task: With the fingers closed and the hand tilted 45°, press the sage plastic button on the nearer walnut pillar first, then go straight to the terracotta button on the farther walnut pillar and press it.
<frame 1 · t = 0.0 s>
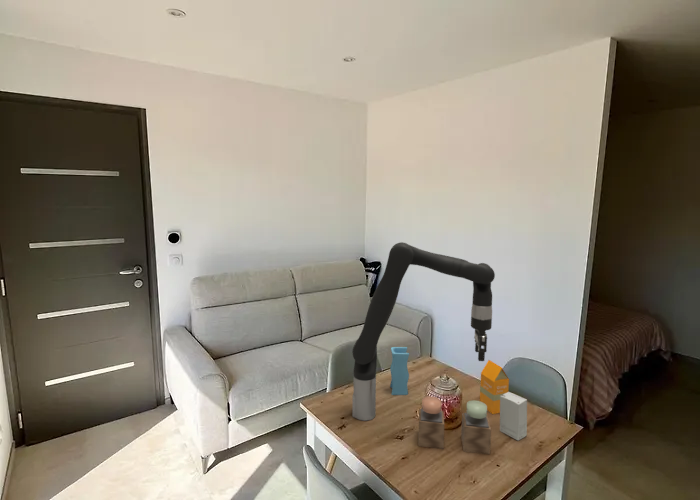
hand: (479, 356, 148), 29 cm above the table, tool pointing down, fingers open, 8 cm apart
sage button: (476, 409, 139), point 14 cm above the table, slide at 0.0 cm
orange juice: (493, 407, 166), on the table
pillar 1: (430, 439, 144), on the table
vase: (399, 391, 180), on the table
skincare box: (512, 433, 148), on the table
pillar 2: (475, 444, 141), on the table
terracotta button: (431, 404, 142), point 14 cm above the table, slide at 0.0 cm
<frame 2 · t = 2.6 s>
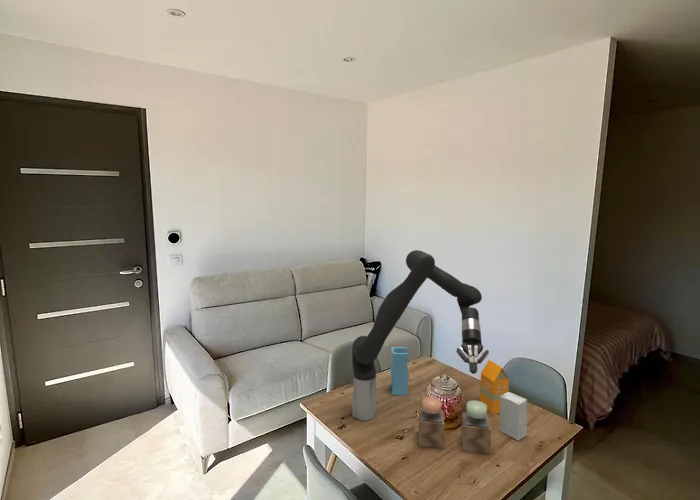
hand: (473, 373, 149), 23 cm above the table, tool tilted 45°, fingers closed
nothing on the table moved.
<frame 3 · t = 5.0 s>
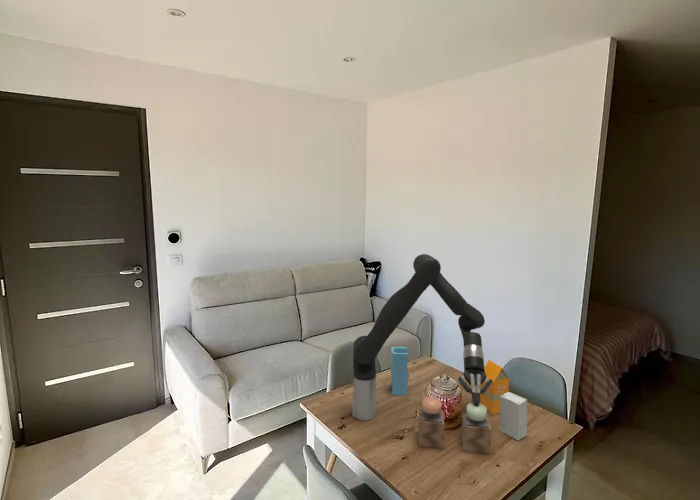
hand: (476, 404, 140), 15 cm above the table, tool tilted 45°, fingers closed
sage button: (476, 411, 139), point 13 cm above the table, slide at 0.9 cm
everything else where it was.
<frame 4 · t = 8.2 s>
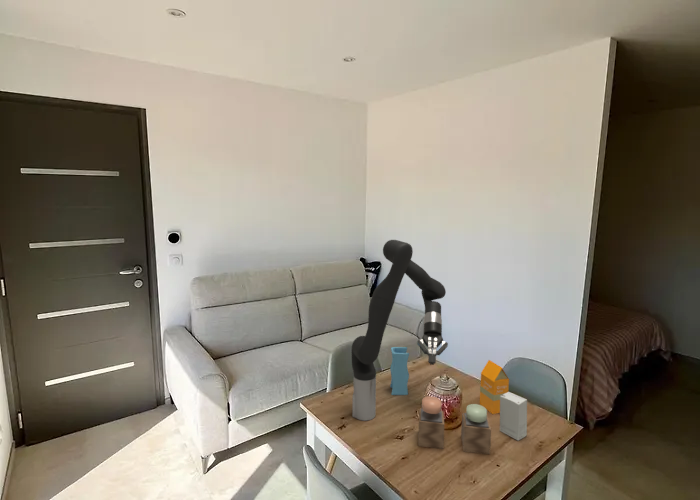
hand: (432, 364, 153), 24 cm above the table, tool tilted 45°, fingers closed
sage button: (476, 413, 139), point 13 cm above the table, slide at 1.4 cm
everything else where it was.
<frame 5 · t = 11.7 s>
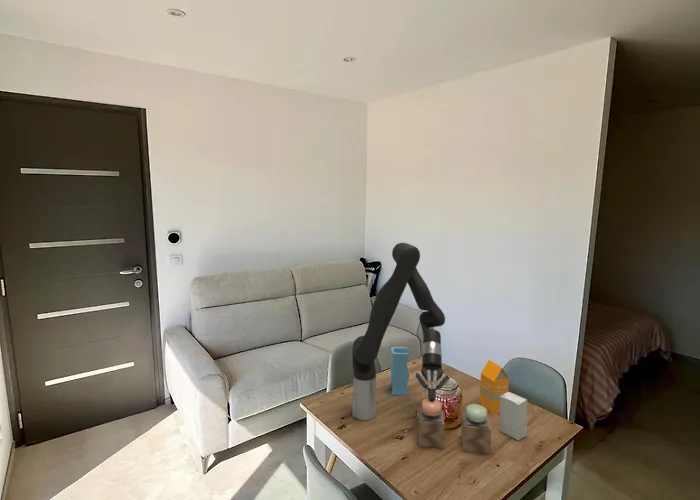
hand: (431, 400, 143), 15 cm above the table, tool tilted 45°, fingers closed
terracotta button: (431, 407, 142), point 13 cm above the table, slide at 0.9 cm
everything else where it was.
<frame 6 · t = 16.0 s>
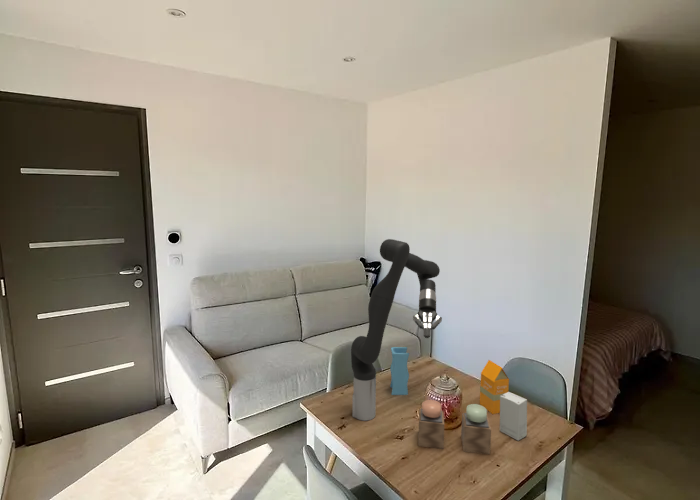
hand: (427, 337, 161), 32 cm above the table, tool tilted 45°, fingers closed
terracotta button: (431, 408, 142), point 13 cm above the table, slide at 1.5 cm
everything else where it was.
at the end: sage button slide at 1.4 cm; terracotta button slide at 1.5 cm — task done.
